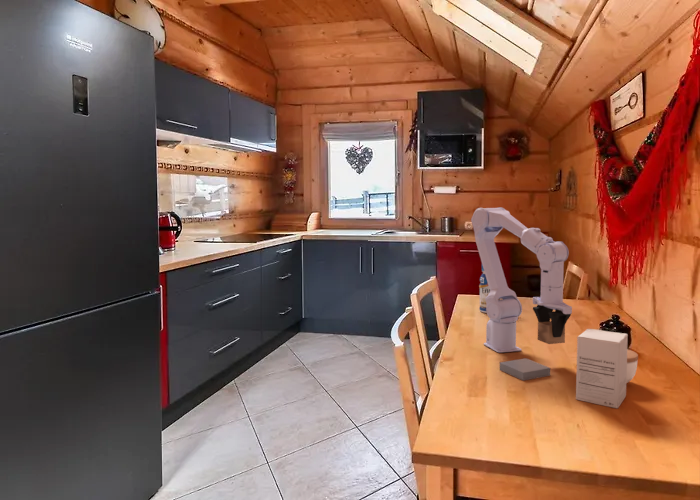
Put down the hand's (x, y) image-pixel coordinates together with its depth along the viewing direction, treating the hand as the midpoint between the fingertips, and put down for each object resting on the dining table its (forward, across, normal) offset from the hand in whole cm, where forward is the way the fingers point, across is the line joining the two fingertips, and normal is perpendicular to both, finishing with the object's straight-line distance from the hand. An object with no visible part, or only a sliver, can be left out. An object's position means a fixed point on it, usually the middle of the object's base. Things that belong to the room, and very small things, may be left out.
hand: (550, 334), depth 139 cm
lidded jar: (+9, +17, +6) cm, 20 cm away
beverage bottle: (+9, -65, +18) cm, 68 cm away
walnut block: (+2, 0, 0) cm, 2 cm away
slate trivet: (+9, +4, -11) cm, 15 cm away
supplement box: (+9, +24, -4) cm, 26 cm away
